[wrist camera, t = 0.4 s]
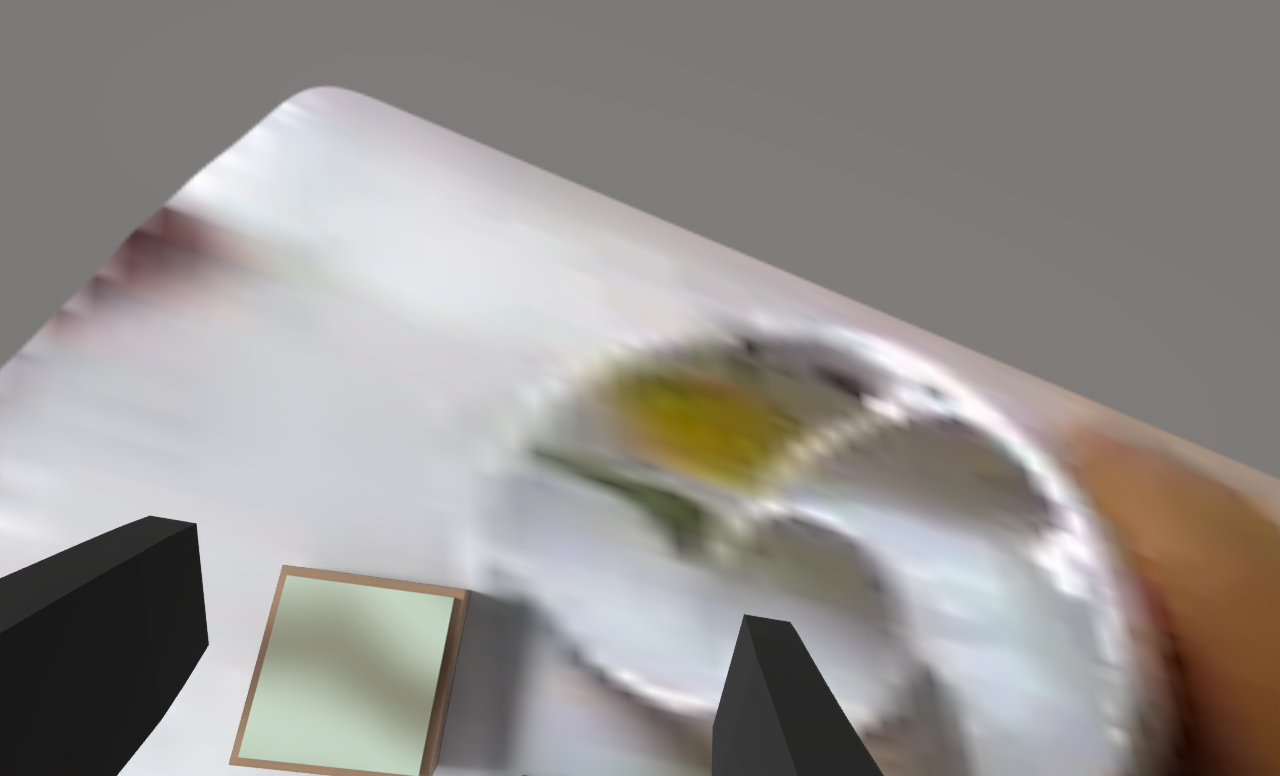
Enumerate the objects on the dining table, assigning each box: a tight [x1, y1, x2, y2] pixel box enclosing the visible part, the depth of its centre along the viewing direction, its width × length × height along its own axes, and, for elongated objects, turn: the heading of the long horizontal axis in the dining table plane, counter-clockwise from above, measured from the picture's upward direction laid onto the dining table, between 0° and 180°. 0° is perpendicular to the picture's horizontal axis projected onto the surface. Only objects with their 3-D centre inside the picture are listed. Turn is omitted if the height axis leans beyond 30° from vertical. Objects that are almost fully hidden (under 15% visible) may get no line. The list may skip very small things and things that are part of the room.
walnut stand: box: [229, 565, 471, 776], centre depth 32 cm, size 8×8×4 cm
